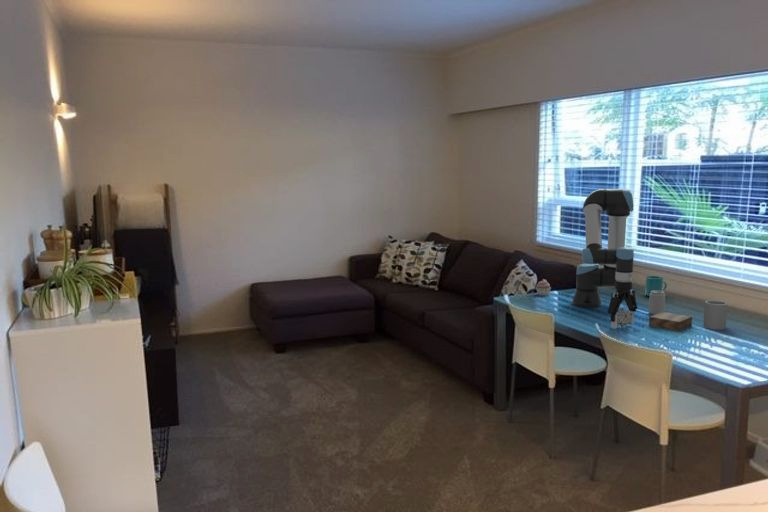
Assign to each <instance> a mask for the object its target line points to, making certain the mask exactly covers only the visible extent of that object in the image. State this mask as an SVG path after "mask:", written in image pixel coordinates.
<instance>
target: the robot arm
mask: <svg viewBox="0 0 768 512" xmlns="http://www.w3.org/2000/svg"><path fill="white" fill-rule="evenodd" d="M633 197H634V196H633V192H632V190H631V189H629V188H628V189H627V188H599V189H596V190H594V191H591V193H590V194H588V196H587V197H586V198H585V200H584V202H583V205H582V212H583V214H584V217H585V218H584V221H585V223H584V224H585V248H583V249H582V252H581V262H582V264H578V265H577V267H576V273H575V274H576V281H575V282H576V283H575V285H576V286H575V288H576V289H575V293H574V296H573V297H572V298H573V299H572V305H573V306H574V307H579V308H585V309H586V308H587V309H588V308H590V309H591V308H592V309H593V308H599V307H601V306H602V300H601V297H600V293H599V288H615V290H616V292H611V298H610V302H609V306H608V309H607V314H609V315H610V329H615V330H617V327H618V324H617V315H616V313H617V312H618V311H619V308H620V306H621V304H622V303H623V302H624V301H625V304H626V306H627V309H628V310H627V312H628V313H629V314H632V315H631V317H630V323H631V324H628V325H629V326H633V325H634V313H635V312H636V311H637V310H638V305H637V299H636V291H635V289H633V279H634V278H633V274H634V258H635V253H634V251H635V250H634V248H632V247H627V246H626V245H625V244H626V233H627V231H626V229H627V219H628V217H630V216H631V213H632V212H633V211H634V206H635V205H634V198H633ZM603 212H605V213H606V217H608V231H607V232H608V234H607V248H603V237H602V220H601V219H602V217H601V214H602V213H603Z"/></svg>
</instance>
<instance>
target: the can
mask: <svg viewBox="0 0 768 512" xmlns="http://www.w3.org/2000/svg"><path fill="white" fill-rule="evenodd" d="M648 298H649V299H648V300H649V301H648V313H649V314H650V315H655V314H658V313H660V312H666V311H665V310H666V294H665V290H663V291H658V290H653V291H651V293H650V296H649V297H648Z"/></svg>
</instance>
